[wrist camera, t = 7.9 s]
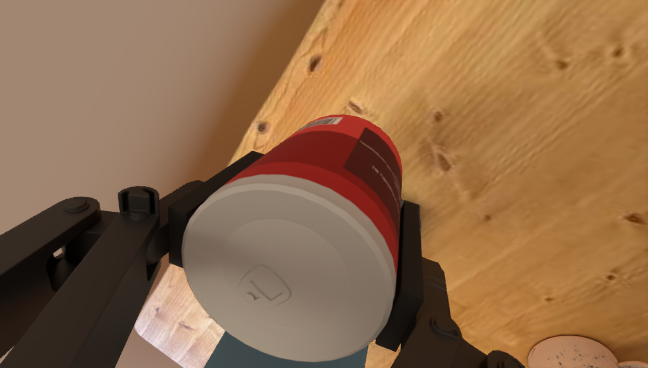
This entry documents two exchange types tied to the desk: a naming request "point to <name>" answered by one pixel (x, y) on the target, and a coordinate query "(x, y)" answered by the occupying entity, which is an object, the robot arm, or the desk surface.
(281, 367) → the lunchbox lid
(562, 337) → the teacup with lid
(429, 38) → the desk surface
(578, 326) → the desk surface
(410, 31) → the desk surface
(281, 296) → the canned food
